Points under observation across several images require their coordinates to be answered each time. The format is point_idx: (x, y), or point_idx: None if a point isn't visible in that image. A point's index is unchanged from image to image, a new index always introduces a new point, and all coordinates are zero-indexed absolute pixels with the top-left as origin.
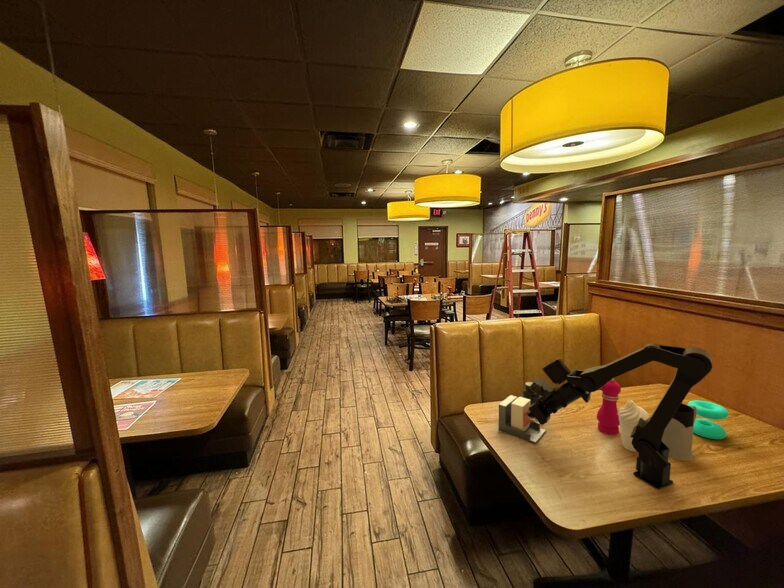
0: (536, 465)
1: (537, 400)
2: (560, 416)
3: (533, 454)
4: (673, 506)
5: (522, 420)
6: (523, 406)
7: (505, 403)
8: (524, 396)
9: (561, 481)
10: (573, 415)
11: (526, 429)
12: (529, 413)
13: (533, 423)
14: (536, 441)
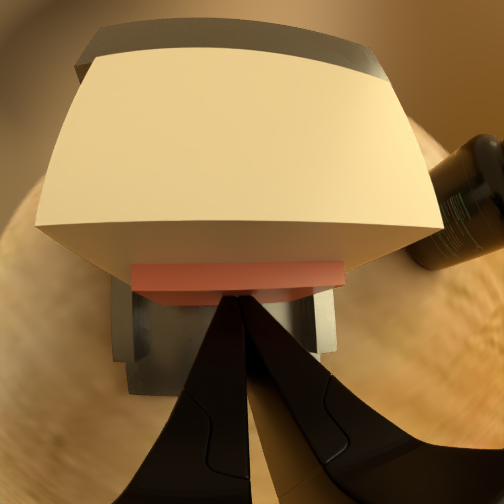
0: (7, 423)
1: (490, 241)
2: (470, 340)
3: (50, 402)
4: None
5: (122, 280)
6: (75, 227)
7: (145, 39)
8: (465, 157)
9: (16, 494)
10: (490, 365)
11: None
12: (212, 322)
13: (310, 311)
14: (149, 394)
